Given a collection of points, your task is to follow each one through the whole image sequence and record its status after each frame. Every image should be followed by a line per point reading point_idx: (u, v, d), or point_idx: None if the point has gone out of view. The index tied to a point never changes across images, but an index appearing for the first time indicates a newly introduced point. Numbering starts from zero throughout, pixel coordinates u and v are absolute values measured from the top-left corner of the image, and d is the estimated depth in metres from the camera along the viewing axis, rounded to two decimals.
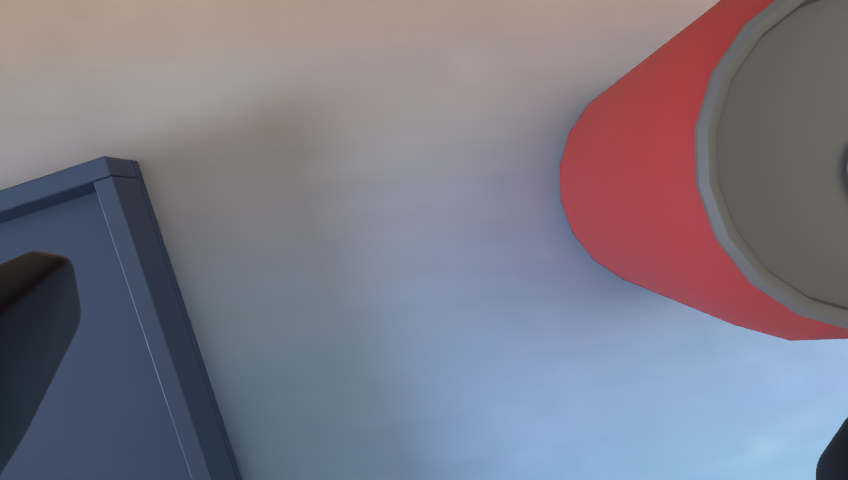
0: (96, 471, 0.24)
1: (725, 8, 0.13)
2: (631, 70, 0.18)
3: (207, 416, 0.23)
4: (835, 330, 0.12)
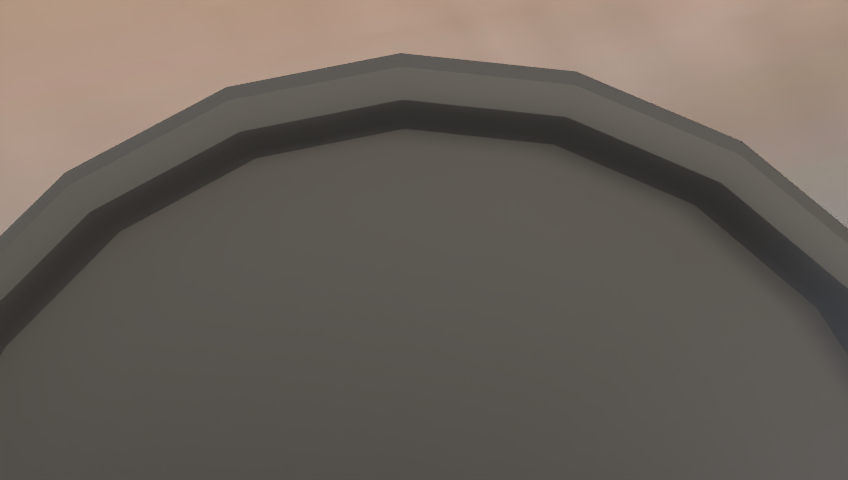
0: None
1: None
2: None
3: None
4: None
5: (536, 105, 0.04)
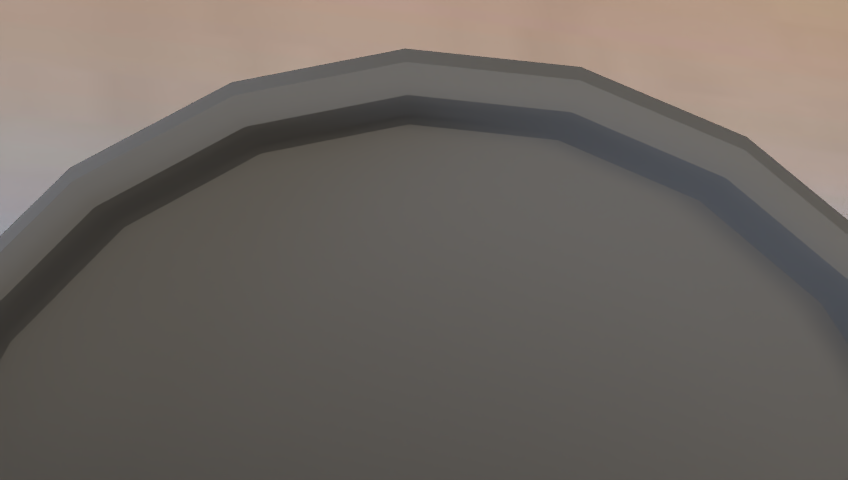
0: None
1: None
2: None
3: None
4: None
5: (541, 100, 0.04)
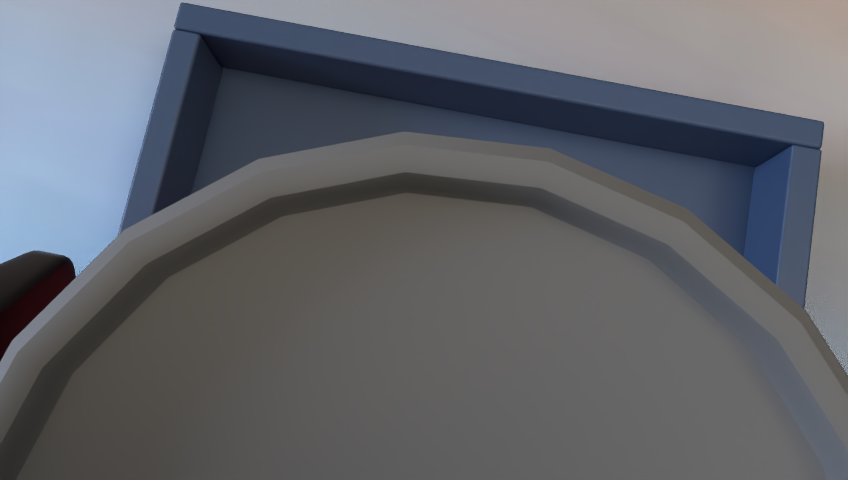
0: None
1: None
2: None
3: None
4: None
5: (516, 178, 0.04)
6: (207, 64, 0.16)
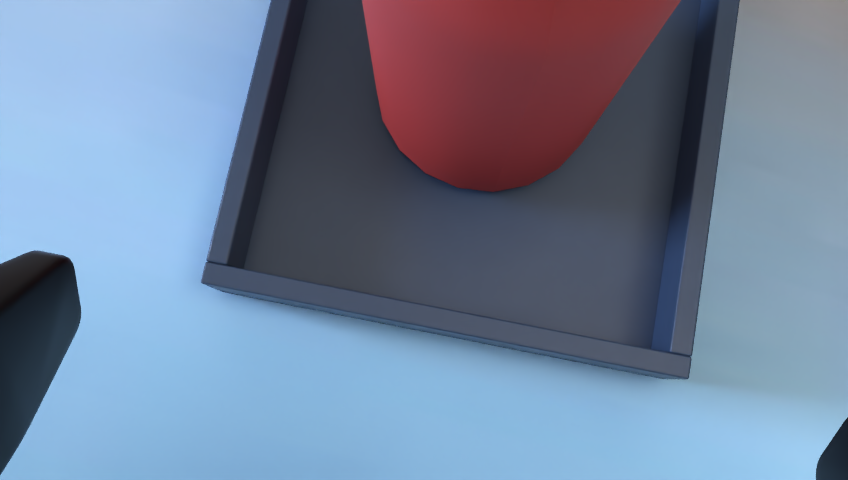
0: None
1: None
2: None
3: None
4: (558, 7, 0.12)
5: None
6: None
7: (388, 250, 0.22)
